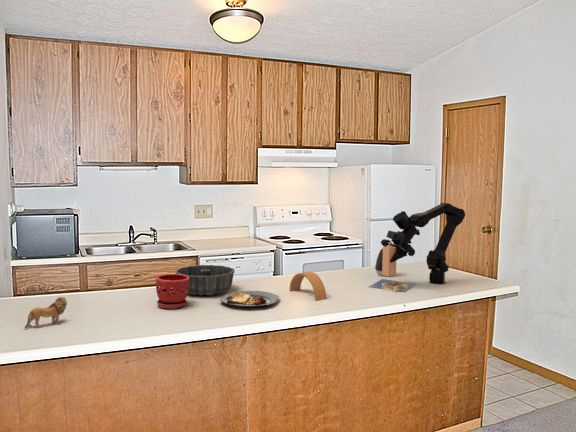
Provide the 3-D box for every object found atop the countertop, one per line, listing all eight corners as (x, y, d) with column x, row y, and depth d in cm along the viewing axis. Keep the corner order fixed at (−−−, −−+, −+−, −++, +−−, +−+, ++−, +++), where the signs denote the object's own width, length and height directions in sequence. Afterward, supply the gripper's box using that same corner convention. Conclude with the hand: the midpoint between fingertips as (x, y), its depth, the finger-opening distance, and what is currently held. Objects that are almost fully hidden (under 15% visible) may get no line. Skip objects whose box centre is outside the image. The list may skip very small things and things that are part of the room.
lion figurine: (63, 318, 182) (62, 294, 181) (70, 321, 179) (69, 297, 178) (21, 328, 171) (20, 302, 170) (27, 331, 168) (26, 305, 167)
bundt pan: (198, 282, 241) (198, 262, 240) (245, 288, 230) (245, 267, 229) (162, 294, 218) (162, 272, 217) (212, 302, 206) (212, 278, 205)
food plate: (269, 312, 192) (269, 303, 192) (212, 308, 197) (212, 300, 197) (283, 297, 217) (283, 289, 217) (232, 295, 221) (232, 287, 221)
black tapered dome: (397, 275, 261) (398, 246, 260) (390, 279, 252) (391, 249, 251) (379, 273, 266) (380, 245, 265) (371, 276, 258) (372, 247, 256)
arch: (315, 301, 210) (315, 278, 209) (289, 291, 227) (289, 269, 226) (326, 299, 213) (326, 276, 212) (299, 289, 230) (300, 268, 229)
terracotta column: (389, 273, 234) (390, 244, 232) (396, 275, 230) (396, 246, 228) (382, 274, 232) (382, 245, 230) (388, 276, 228) (389, 246, 226)
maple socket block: (394, 286, 235) (394, 281, 234) (407, 289, 228) (407, 284, 228) (382, 288, 230) (382, 283, 230) (394, 292, 224) (395, 287, 223)
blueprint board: (417, 284, 241) (417, 283, 241) (405, 293, 224) (405, 292, 224) (382, 280, 250) (382, 279, 250) (367, 288, 233) (367, 287, 233)
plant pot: (170, 312, 191) (170, 281, 190) (149, 306, 199) (148, 276, 198) (196, 305, 202) (196, 276, 200) (174, 299, 209) (174, 271, 208)
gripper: (384, 222, 238) (365, 246, 234) (411, 226, 222) (391, 253, 218) (396, 237, 243) (378, 261, 239) (423, 242, 227) (404, 269, 223)
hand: (387, 261), depth 229 cm, fingers closed on terracotta column, 4 cm apart
